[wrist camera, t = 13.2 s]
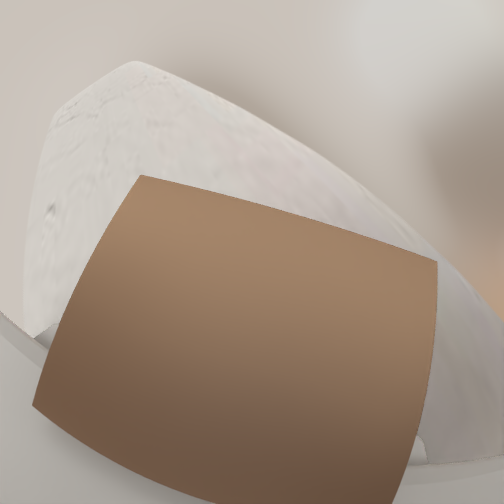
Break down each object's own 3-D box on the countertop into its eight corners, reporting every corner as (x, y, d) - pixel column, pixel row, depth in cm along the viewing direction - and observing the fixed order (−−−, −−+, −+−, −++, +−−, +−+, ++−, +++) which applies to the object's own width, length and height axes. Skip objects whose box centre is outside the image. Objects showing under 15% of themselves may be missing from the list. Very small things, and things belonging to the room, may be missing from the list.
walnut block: (210, 331, 17) (140, 174, 5) (295, 358, 17) (437, 261, 4) (186, 397, 15) (31, 405, 3) (274, 425, 15) (384, 521, 2)
